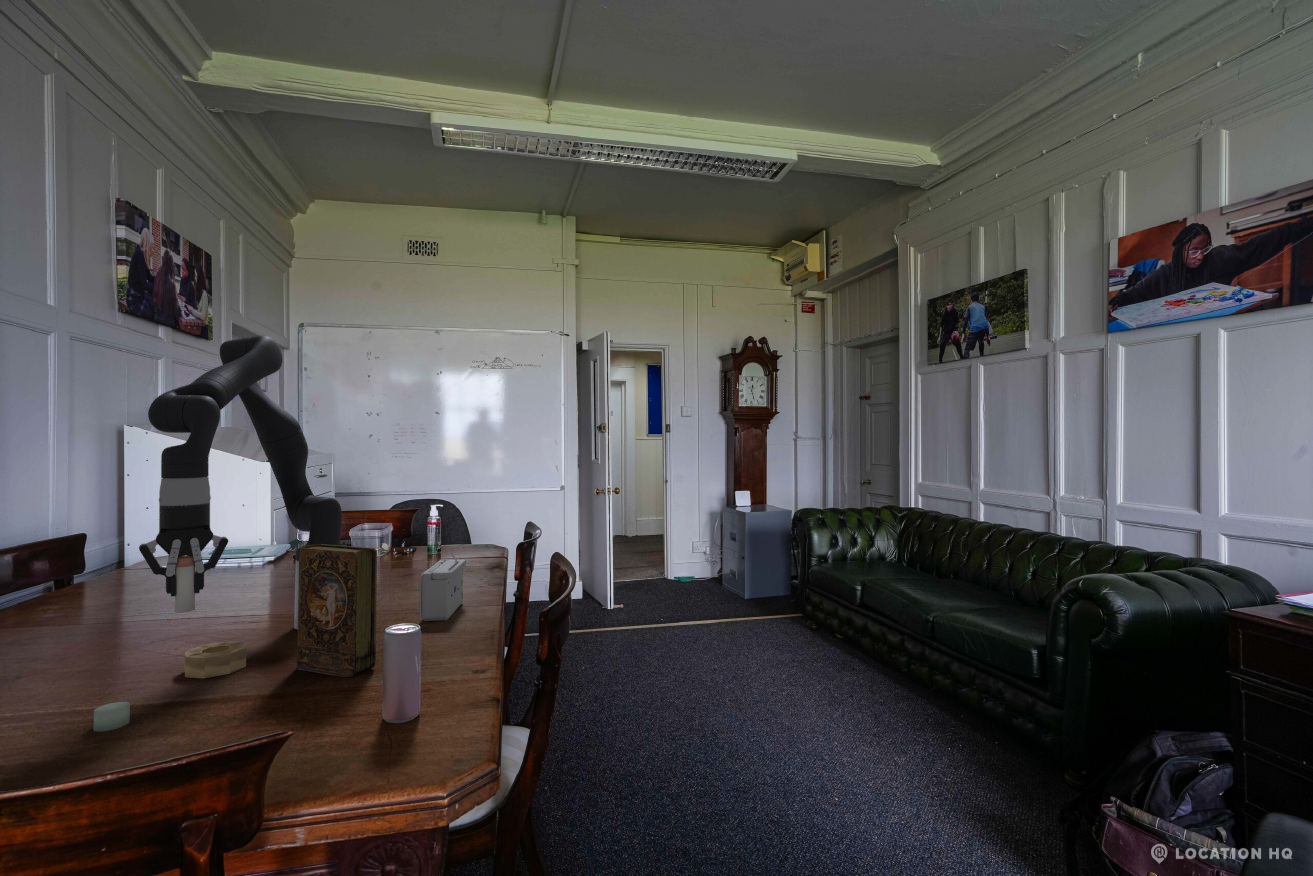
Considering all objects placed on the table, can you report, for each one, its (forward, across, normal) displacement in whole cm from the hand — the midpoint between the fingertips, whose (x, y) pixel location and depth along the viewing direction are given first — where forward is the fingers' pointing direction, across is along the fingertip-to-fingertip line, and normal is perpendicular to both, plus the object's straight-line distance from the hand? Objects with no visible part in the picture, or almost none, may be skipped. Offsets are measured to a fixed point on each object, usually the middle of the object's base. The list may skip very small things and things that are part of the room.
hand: (184, 593), depth 114 cm
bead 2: (+19, -5, -11) cm, 22 cm away
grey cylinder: (+3, 0, 0) cm, 3 cm away
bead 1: (+18, +10, +10) cm, 23 cm away
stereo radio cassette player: (+20, -58, -25) cm, 67 cm away
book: (+19, -24, +4) cm, 31 cm away
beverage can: (+19, -28, +36) cm, 49 cm away
